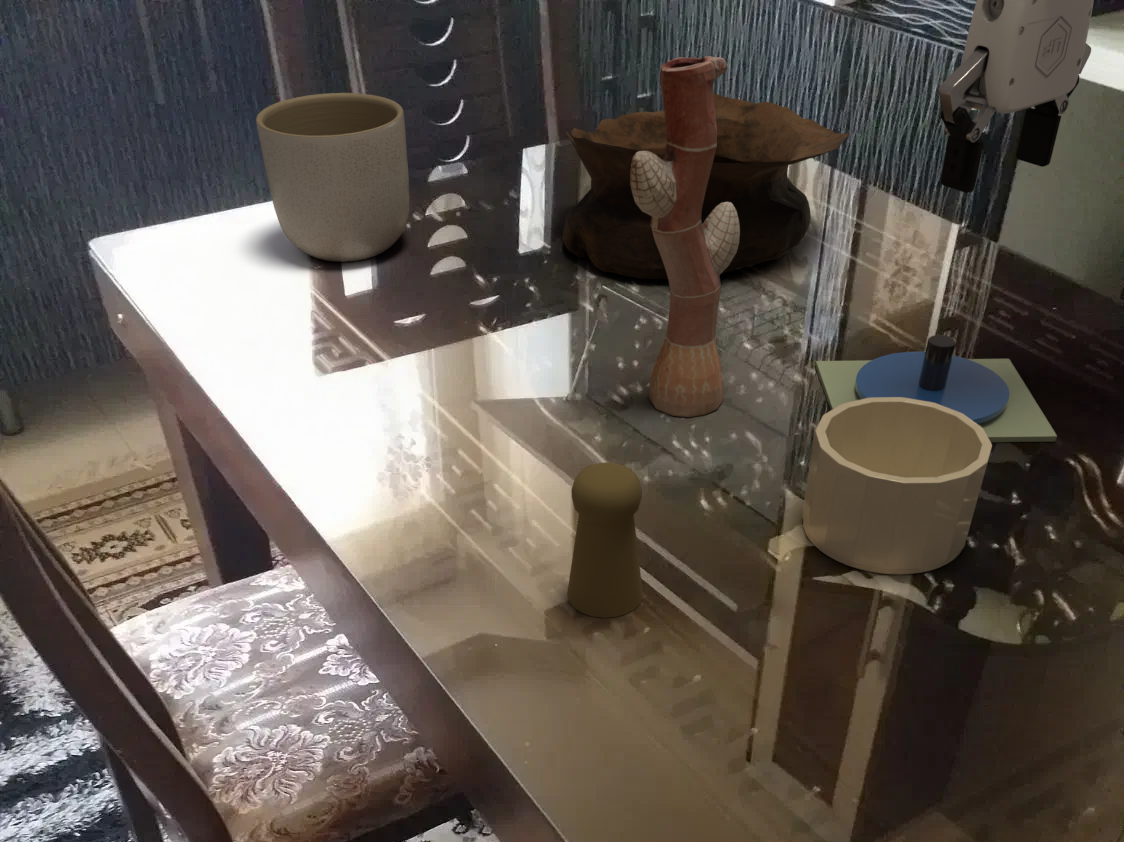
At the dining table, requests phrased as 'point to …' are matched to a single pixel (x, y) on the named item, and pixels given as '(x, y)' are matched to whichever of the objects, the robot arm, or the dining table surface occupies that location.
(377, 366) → the dining table surface
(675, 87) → the vase
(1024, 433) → the mat
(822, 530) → the pot
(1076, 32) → the robot arm
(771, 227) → the bowl
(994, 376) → the lid
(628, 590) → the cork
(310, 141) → the planter
